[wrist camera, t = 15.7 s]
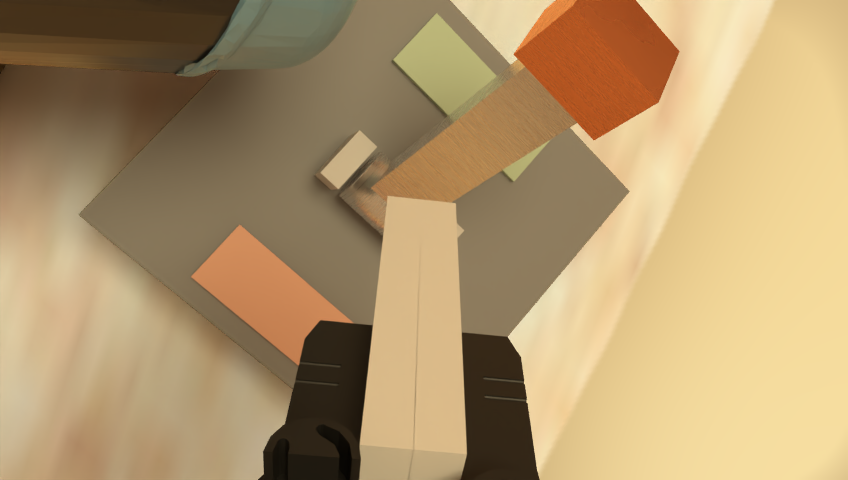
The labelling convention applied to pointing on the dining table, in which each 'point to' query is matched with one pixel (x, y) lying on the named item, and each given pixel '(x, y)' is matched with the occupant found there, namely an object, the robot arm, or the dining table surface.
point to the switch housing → (341, 187)
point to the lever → (530, 104)
